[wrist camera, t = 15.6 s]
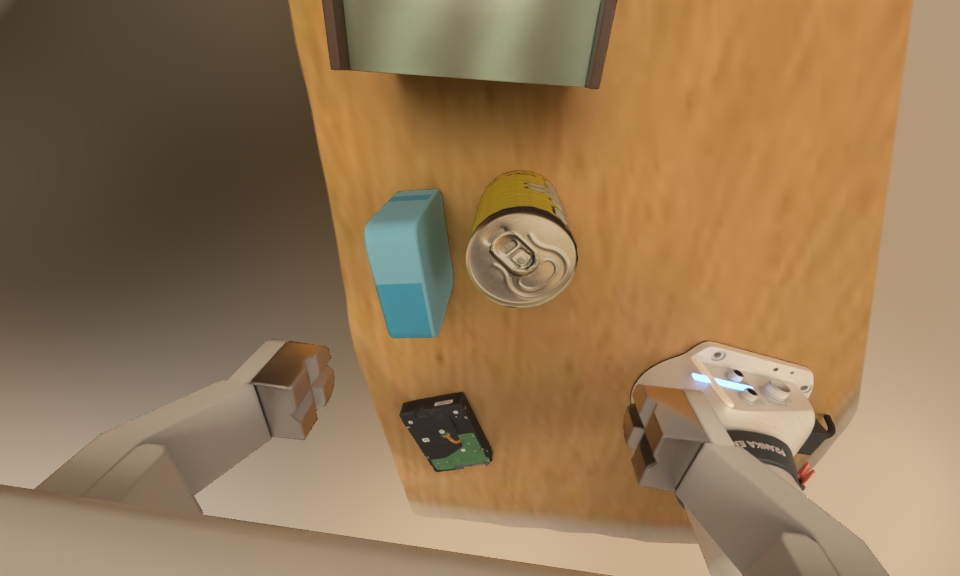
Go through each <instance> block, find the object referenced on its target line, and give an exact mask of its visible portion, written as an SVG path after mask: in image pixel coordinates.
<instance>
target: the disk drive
mask: <svg viewBox="0 0 960 576" xmlns="http://www.w3.org/2000/svg"><path fill="white" fill-rule="evenodd" d="M399 416H400V417H401V419H402V421H403V423H404V424H405V426H406V427H407V428H408V430H409V432H410V433H411V435H412V436H413V438H414V439H415V441H416V442H417V444H418V445H419V447H420V448H421V450H422V452H423V453H424V455H425V456H426V458H427V459H428V461H429V463H430V465H431V466H432V467H433V469H434V470H435V471H436V472H441V471H449V470H455V469H457V470H458V469H464V467H469V466H471V467H472V466H477V465H484V464H486V466H487V465H489V462H491V461H492V450H491V447H490V445H489V443H488V441H487V439H486V437H485V435H484V433H483V431H482V429H481V428H480V426H479V423H478V422H477V420H476V418H475V416H474V414H473V412H472V410H471V408H470V406H469V404H468V402H467V400H466V398H465V396H464V394H463V393H457V394H449V395H444V396H439V397H433V398H428V399H422V400H417V401H412V402H408V403H404V404H403V406H402V408H401V411H400V415H399Z"/></svg>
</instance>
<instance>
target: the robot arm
mask: <svg viewBox="0 0 960 576" xmlns="http://www.w3.org/2000/svg"><path fill="white" fill-rule="evenodd" d="M330 359H331V355H330V351H329V348H327V347H326V346H321V345H314V344H307V343H300V342H293V341H283V340H277V339H271V340H268V341H266V342H265V343H264V344H263V345H262V346H261V347H260V348H259V349H258V350H257V351H256V352H255V353H254V354H253V355H252V356H251V357H250V358H249V359H248V360H247V361H246V362H245V363H244V364H243V365H242V366H241V367H240V368H239V369H238V370H237V371H236V372H235V373H234V374H233V375H232V376H231V377H230V378H229V379H228V380H227V381H222V380H220V381H218V382H216V383H214V384H211V385H209V386H207V387H205V388H202V389H200V390H198V391H196V392H193V393H191V394H189V395H187V396H185V397H182V398H180V399H178V400H176V401H173V402H171V403H169V404H167V405H164V406H162V407H160V408H158V409H156V410H153V411H151V412H149V413H147V414H144V415H142V416H140V417H138V418H136V419H133V420H131V421H129V422H127V423H124V424H122V425H120V426H118V427H116V428H113V429H111V430H109V431H106V432H104V433H102V434H100V435H99V436H97V437H96V438H95V439H94V440H93V441H91V442H90V443H89V444H88V445H87V446H85V447H84V448H83V449H82V450H81V451H79V452H78V453H77V454H76V455H75V456H73V457H72V458H71V459H70V460H69V461H67V462H66V463H65V464H64V465H63V466H61V467H60V468H59V469H58V470H57V471H55V472H54V473H53V474H52V475H51V476H49V477H48V478H47V479H46V480H45V481H43V482H42V483H41V484H40V485H39V486H37V487H36V488H35V489H27V488H20V487H13V486H7V485H0V576H611V575H604V574H597V573H590V572H584V571H576V570H570V569H564V568H557V567H550V566H544V565H536V564H530V563H523V562H517V561H510V560H503V559H497V558H490V557H483V556H477V555H470V554H463V553H457V552H450V551H443V550H437V549H430V548H423V547H417V546H410V545H403V544H396V543H389V542H383V541H376V540H369V539H363V538H356V537H349V536H342V535H335V534H329V533H322V532H315V531H309V530H302V529H295V528H288V527H281V526H275V525H268V524H261V523H255V522H248V521H241V520H235V519H228V518H221V517H215V516H208V515H203V512H202V509H201V507H200V506H199V504H198V502H197V501H196V499H195V497H194V495H195V494H197V493H198V492H199V491H201V490H202V489H203V488H205V487H206V486H208V485H209V484H210V483H212V482H213V481H214V480H216V479H217V478H218V477H220V476H221V475H223V474H224V473H225V472H227V471H228V470H229V469H231V468H232V467H234V466H235V465H236V464H238V463H239V462H240V461H241V460H243V459H244V458H246V457H247V456H248V455H250V454H251V453H253V452H254V451H255V450H257V449H258V448H259V447H261V446H262V445H263V444H265V443H266V442H268V441H269V440H270V439H271V437H279V438H288V439H298V440H305V439H306V437H307V435H308V434H309V432H310V430H311V429H312V427H313V425H314V424H315V422H316V421H317V419H318V418H317V413H316V411H317V410H319V409H320V408H322V407H324V406H325V405H326V404H327V402H328V401H329V399H330V397H331V394H332V391H333V388H334V379H335V377H334V371H333V369H332V368H331V367H330V366H329V365H328V364H327V363H328V362H329V360H330ZM813 384H814V378H813V374H812V372H811V371H810V370H809V368H807V367H804V366H801V365H797V364H794V363H790V362H786V361H783V360H779V359H775V358H772V357H768V356H764V355H760V354H757V353H753V352H749V351H746V350H742V349H738V348H735V347H731V346H727V345H723V344H720V343H716V342H712V341H707V342H703V343H701V344H699V345H697V346H696V347H694V348H693V349H691V350H690V351H688V352H687V353H685V354H683V355H680V356H678V357H675V358H672V359H669V360H666V361H663V362H661V363H659V364H657V365H655V366H654V367H652V368H651V369H649V370H648V371H647V372H645V373H644V374H643V375H642V376H641V377H640V378H639V379H638V381H637V382H636V384H635V385H634V387H633V390H632V393H631V403H632V404H631V405H630V406H628V407H627V409H626V412H625V415H624V424H623V429H624V436H625V440H626V443H627V445H628V446H629V447H630V448H631V449H632V450H633V451H634V452H635V453H634V455H633V458H632V460H631V461H632V464H633V468H634V471H635V474H636V478H637V481H638V484H639V486H644V487H650V488H656V489H663V490H669V491H674V493H675V495H676V498H677V500H678V502H679V504H680V505H681V506H682V508H684V509H685V510H686V513H687V515H688V518H689V520H690V523H691V526H692V528H693V531H694V533H695V536H696V538H697V541H698V544H699V546H700V549H701V551H702V554H703V556H704V559H705V561H706V564H707V566H708V569H709V572H710V574H711V575H712V576H889V574H888V573H887V572H886V570H885V569H884V568H883V566H882V565H881V564H880V562H879V561H878V560H877V558H876V557H875V555H874V554H873V553H872V551H871V550H870V549H869V547H868V546H867V545H866V543H865V542H864V541H863V540H862V539H860V538H859V537H858V536H856V535H855V534H854V533H853V532H851V531H850V530H849V529H847V528H846V527H845V526H844V525H842V524H841V523H840V522H838V521H837V520H836V519H834V518H833V517H832V516H831V515H829V514H828V513H827V512H825V511H824V510H822V508H820V507H819V506H818V505H816V504H815V503H814V502H812V501H811V500H810V499H809V498H807V497H806V495H805V494H804V492H803V490H804V489H805V486H804V484H805V483H806V482H807V481H808V480H809V479H810V478H811V476H812V475H813V474H814V473H815V471H814V470H812V471H810V472H809V473H808V474H807V475H806V473H807V472H808V470H809V466H810V464H809V463H808V462H806V463H805V464H804V465H803V466H802V467H801V469H800V470H799V471H798V472H797V470H796V466H795V462H794V458H793V457H794V456H795V455H796V453H798V454H806V455H811V454H812V453H813V452H814V451H815V450H816V449H817V448H818V447H819V446H820V445H821V443H822V442H823V441H824V440H825V439H828V438H830V437H832V436H833V435H834V434H835V426H834V423H833V421H832V419H831V417H830V416H829V415H824V419H825V422H826V424H827V426H828V430H827V431H826V430H825V429H824V428H823V427H822V425H821V424H820V423H819V422H818V421H817V420H816V419H815V413H814V410H813V408H812V406H811V404H810V402H809V401H808V398H809V396H810V394H811V392H812V389H813Z"/></svg>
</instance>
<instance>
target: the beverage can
mask: <svg viewBox="0 0 960 576" xmlns="http://www.w3.org/2000/svg"><path fill="white" fill-rule="evenodd" d="M577 261H578V255H577V246H576V243H575V240H574V237H573V234H572V231H571V229H570V226H569V223H568V220H567V217H566V215H565V212H564V209H563V206H562V203H561V200H560V198H559V196H558V193H557V191H556V189H555V188H554V186H553V185H552V184H551V183H550V182H549V181H548V180H547V179H545V178H544V177H542V176H541V175H540V174H537V173H533V172H530V171H520V170H517V171H512V172H508V173H505V174H503V175H501V176H499V177H497V178H496V179H495V180H493V181H492V182H491V183H490V184H489V185H488V186H487V188H486V189H485V191H484V192H483V194H482V196H481V200H480V203H479V206H478V210H477V214H476V217H475V221H474V225H473V228H472V232H471V236H470V239H469V243H468V246H467V250H466V267H467V270H468V274H469V277H470V279H471V281H472V282H473V284H474V285H475V287H476V288H477V289H478V290H479V291H480V292H481V293H482V294H483V295H484V296H485V297H487V298H488V299H490V300H492V301H494V302H495V303H497V304H501V305H504V306H508V307H515V308H527V307H534V306H538V305H541V304H543V303H546V302H549V301H550V300H552V299H553V298H555V297H556V296H558V295H559V294H561V293H562V291H563V290H564V289H565V288H566V287H567V286H568V285H569V284H570V282H571V280H572V278H573V276H574V274H575V272H576V266H577Z"/></svg>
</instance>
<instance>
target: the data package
mask: <svg viewBox="0 0 960 576" xmlns="http://www.w3.org/2000/svg"><path fill="white" fill-rule="evenodd" d="M364 243H365V248H366V252H367V255H368V259H369V263H370V266H371V270H372V274H373V277H374V281H375V285H376V288H377V292H378V296H379V300H380V303H381V307H382V311H383V314H384V318H385V322H386V325H387V329H388V332H389V334H390V336H391V337H392V338H435V337H437V336H438V334H439V331H440V328H441V325H442V321H443V318H444V314H445V311H446V308H447V304H448V301H449V297H450V294H451V291H452V287H453V270H452V263H451V256H450V249H449V242H448V235H447V228H446V221H445V214H444V207H443V200H442V195H441V192H440V191H439V190H438V189H427V190H412V191H399V192H397V193H396V194H395V195H394V196H393V197H392V198H391V199H390V200H389V201H388V202H387V203H386V204H385V205H384V206H383V207H382V208H381V209H380V210H379V211H378V212H377V213H376V214H375V215H374V216H373V217H372V218H371V219H370V220H369V221H368V222H367V224H366V226H365V230H364Z"/></svg>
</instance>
